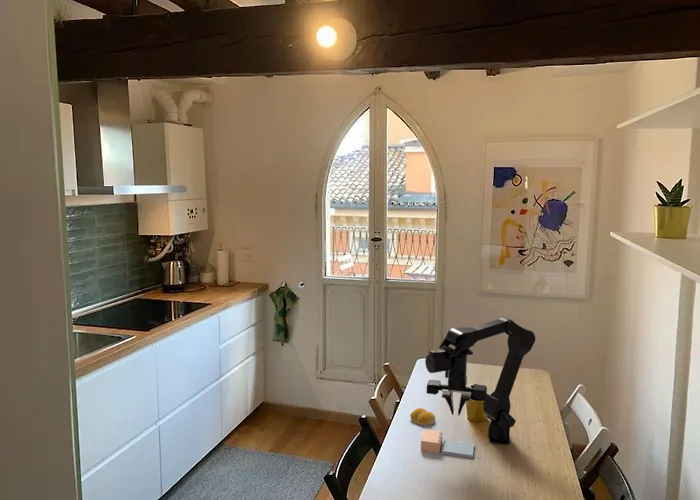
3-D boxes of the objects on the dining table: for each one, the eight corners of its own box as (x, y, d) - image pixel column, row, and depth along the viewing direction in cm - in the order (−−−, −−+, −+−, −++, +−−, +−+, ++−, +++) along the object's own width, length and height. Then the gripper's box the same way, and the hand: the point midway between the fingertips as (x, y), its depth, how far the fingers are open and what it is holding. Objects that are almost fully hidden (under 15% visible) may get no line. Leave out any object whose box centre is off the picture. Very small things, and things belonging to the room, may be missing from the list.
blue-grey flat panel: (474, 446, 179) (474, 442, 179) (472, 458, 172) (472, 454, 172) (443, 441, 182) (443, 438, 182) (440, 453, 174) (441, 450, 174)
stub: (442, 441, 182) (442, 431, 182) (439, 453, 175) (439, 442, 174) (424, 439, 184) (424, 429, 183) (420, 450, 176) (421, 440, 176)
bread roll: (425, 428, 192) (425, 418, 191) (406, 420, 198) (406, 409, 198) (440, 421, 197) (440, 411, 197) (421, 413, 204) (422, 403, 203)
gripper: (488, 362, 178) (486, 407, 181) (431, 357, 183) (430, 401, 186) (487, 374, 168) (485, 422, 170) (426, 368, 173) (425, 415, 175)
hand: (455, 414), depth 175 cm, fingers closed
